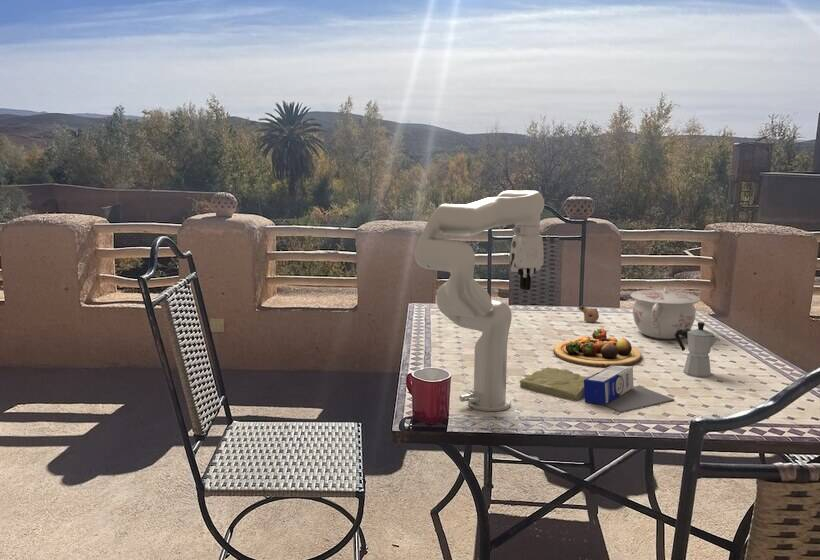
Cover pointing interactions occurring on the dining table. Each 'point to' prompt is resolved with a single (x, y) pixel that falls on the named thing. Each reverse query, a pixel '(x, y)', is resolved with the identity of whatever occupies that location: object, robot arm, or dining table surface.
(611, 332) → the dining table surface
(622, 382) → the milk carton
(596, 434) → the dining table surface
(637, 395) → the mat
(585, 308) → the oil lamp
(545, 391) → the decorative tile
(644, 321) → the chamber pot
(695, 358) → the coffee maker
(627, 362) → the wooden plate with food
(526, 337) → the dining table surface
